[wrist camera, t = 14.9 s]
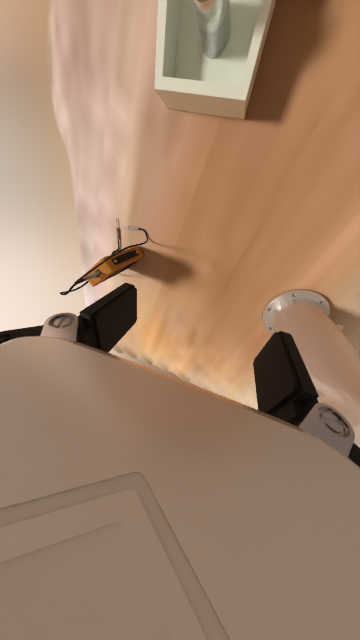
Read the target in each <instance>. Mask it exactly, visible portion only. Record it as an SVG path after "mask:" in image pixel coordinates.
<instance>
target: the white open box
mask: <svg viewBox="0 0 360 640" xmlns="http://www.w3.org/2000/svg"><path fill="white" fill-rule="evenodd" d="M275 4H276V0H231V32H230V37H229V40H228V43H227V45H226V47H225V49H224V51H223V52H222V53H221V55H220V56H218V57H217V58H215V59H210V58H208V57H207V56H206V55H205V53H204V51H203V48H202V43H201V39H200V34H199V29H198V24H197V20H196V15H195V10H194V5H193V0H158V20H157V43H156V67H155V90H156V92H157V93H158V95H159V96H160V98H161V99H162V101H163V102H164V104H165V105H166V107H167V108H168V109H174V110H181V111H188V112H194V113H201V114H208V115H215V116H222V117H229V118H236V119H243V120H244V118H245V114H246V110H247V107H248V103H249V99H250V96H251V92H252V88H253V85H254V81H255V77H256V74H257V70H258V66H259V63H260V59H261V55H262V52H263V48H264V44H265V40H266V37H267V33H268V29H269V26H270V22H271V18H272V15H273V11H274V7H275Z"/></svg>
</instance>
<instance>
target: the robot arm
mask: <svg viewBox="0 0 360 640" xmlns="http://www.w3.org/2000/svg"><path fill="white" fill-rule="evenodd" d="M294 293H295V294H294ZM329 315H330V305H329V303H328V301H327V300H326V299H325V298H324V297H323V296H322V295H320V294H319V293H317V292H314V291H311V290H303V289H300V290H292V291H288V292H285V293H282V294H280V295H278V296H276V297H275V298H274V299H272V300H271V301H270V302H269V303H268V304H267V306H266V307H265V309H264V312H263V322H264V325H265V327H266V328H267V329H268V331H270V332H271V333H273V335H272V337H271V338H270V339H269V341H268V342H267V343H266V345H265V346H264V347H263V349H262V350H261V351H260V353H259V354H258V355H257V357H256V358H255V360H254V363H253V365H254V374H255V384H256V393H257V402H258V410H256V409H254V408H251V407H249V406H246V405H244V404H241V403H239V402H236V401H233V400H231V399H228V398H226V397H223V396H220V395H218V394H215V393H213V392H210V391H208V390H205V389H202V388H200V387H197V386H195V385H192V384H189V383H187V382H184V381H182V380H179V379H176V378H174V377H171V376H168V375H166V374H163V373H160V372H158V371H155V370H152V369H150V368H147V367H145V366H142V365H139V364H137V363H134V362H131V361H129V360H126V359H123V358H121V357H118V356H115V355H113V354H110V353H108V352H109V351H110V350H111V349H112V348H113V347H114V346H115V345H116V344H117V342H118V341H119V340H120V339H121V338H122V337H123V336H124V335H125V334H126V333H127V331H128V330H129V329H130V328H131V327H132V326H133V325H134V324H135V322H136V320H137V289H136V288H135V286H134V285H132V284H128V283H124V284H123V285H121V286H120V287H118V288H116V289H115V290H113V291H112V292H110V293H109V294H107V295H105V296H104V297H102V298H101V299H99V300H98V301H96V302H95V303H93V304H91V305H90V306H88V307H87V308H85V309H84V310H82V311H81V312H80V315H79V316H78V317H77V316H76V315H74V314H72V313H60V314H56V315H53V316H51V317H49V318H48V319H47V320H46V321H45V323H44V325H42V326H36V327H29V328H22V329H15V330H8V331H3V332H0V640H360V352H359V351H358V350H357V349H356V348H355V347H354V345H353V344H352V343H351V342H350V341H349V340H348V339H347V337H346V336H345V335H344V334H343V333H342V332H341V331H342V330H343V328H344V327H343V326H342V325H339V324H336V323H334V322H333V321H332V320H331V319H330V318H329Z"/></svg>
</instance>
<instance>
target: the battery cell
mask: <svg viewBox="0 0 360 640" xmlns="http://www.w3.org/2000/svg"><path fill="white" fill-rule="evenodd" d="M193 5H194V10H195V15H196V20H197V24H198V29H199V34H200V39H201V43H202V48H203V51H204V53H205V55H206V56H207V57H208V58H210V59H215V58H217V57H218V56H220V55H221V53H222V52H223V51H224V49H225V47H226V45H227V43H228V40H229V37H230V32H231V0H193Z"/></svg>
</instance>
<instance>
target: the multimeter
mask: <svg viewBox="0 0 360 640" xmlns="http://www.w3.org/2000/svg"><path fill="white" fill-rule="evenodd" d="M116 227H117V220H116ZM122 227H123V226H122ZM123 228H128V229H134V230H143V231H144V232H145V234H146V237H147V241H148V236H147V233H146V231H145V230H144V229H140V228H137V227H129V226H128V227H123ZM116 234H117V240H118V250H119V233H118V228H116ZM147 241H146V242H147ZM146 242H144V243H141V244H136V245H132V246H128V247H126V248H124V249H122V250H120V251H118V250H115V251H118V252H116V253H115V254H113V253H114V252H115V251H113V252H112V255H110V256H107V257H104V258H102V259H101V260H100V261H99V262H98V263H97V264H96V265H94V266H93V267H92V268H91V269H90V270H89V271H88V272H87V273H86V274H85V275H83V276H82V277H81V278H80V279H78V280H77V281H76V282H75V283H74V285H73V286H72V287H71V288H70V289H69V290H68V291H66V292H61V293H60V294H61V295H66V294H68V293H69V292H72V291H75V290H77V289H79V288H81V287H83V286H84V285H86V284H87V283H88V282H90V284H91V285H92V286H96V285H98V284H99V283H101V282H103V281H105V280H107V279H109V278H111V277H113V276H116V275H117V274H118V273H120V272H122V271H124V270H126V269H128V268H129V267H130V266H132V265H133V264H135V263H136V262H137V261H139V260H140V259H141V258H143V257H144V255H143V253H142V252H141V250H140V248H139V247H138V245H142V244H145V243H146ZM134 246H136V247H134ZM131 247H133V248H131ZM128 248H130V249H128ZM125 249H127V250H125ZM123 250H124V251H123ZM84 277H85V278H84ZM86 280H88V281H87V282H86V283H85V284H83V285H82V286H81V287H78V288H76V289H74V290H71V289H72V288H73V287H74V286H75V285H77V284H79V283H81V282H83V281H86ZM63 293H65V294H63Z"/></svg>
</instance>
